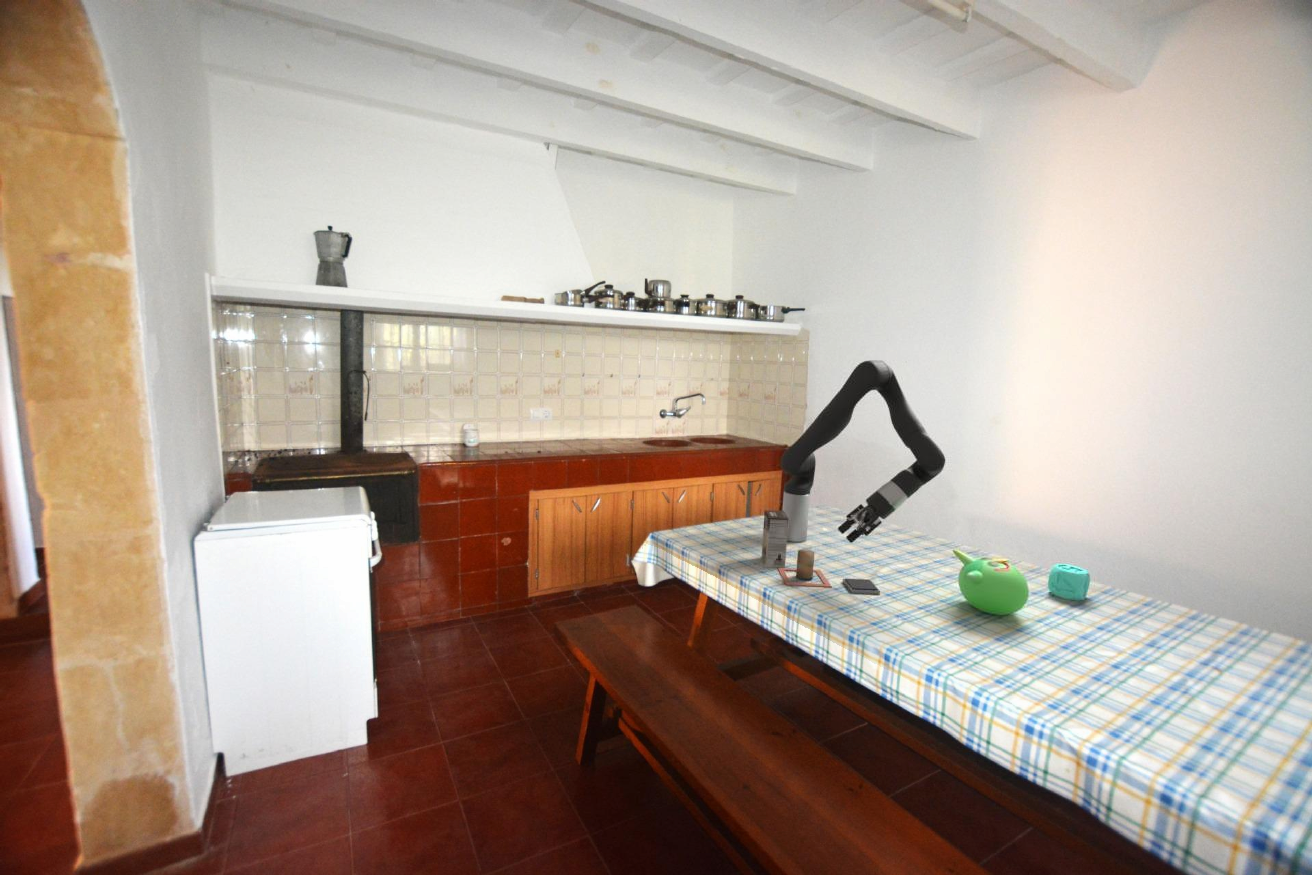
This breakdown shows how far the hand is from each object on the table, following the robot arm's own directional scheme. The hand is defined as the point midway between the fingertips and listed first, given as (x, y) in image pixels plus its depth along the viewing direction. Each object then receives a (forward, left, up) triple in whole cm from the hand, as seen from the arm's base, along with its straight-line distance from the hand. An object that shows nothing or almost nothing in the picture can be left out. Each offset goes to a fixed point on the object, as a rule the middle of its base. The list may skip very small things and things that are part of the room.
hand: (843, 535), depth 169 cm
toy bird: (+17, +34, -14) cm, 41 cm away
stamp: (0, -11, -14) cm, 17 cm away
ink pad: (+6, +4, -13) cm, 15 cm away
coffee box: (-12, -18, -14) cm, 25 cm away
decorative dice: (+4, +64, -14) cm, 66 cm away
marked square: (0, -11, -13) cm, 17 cm away
